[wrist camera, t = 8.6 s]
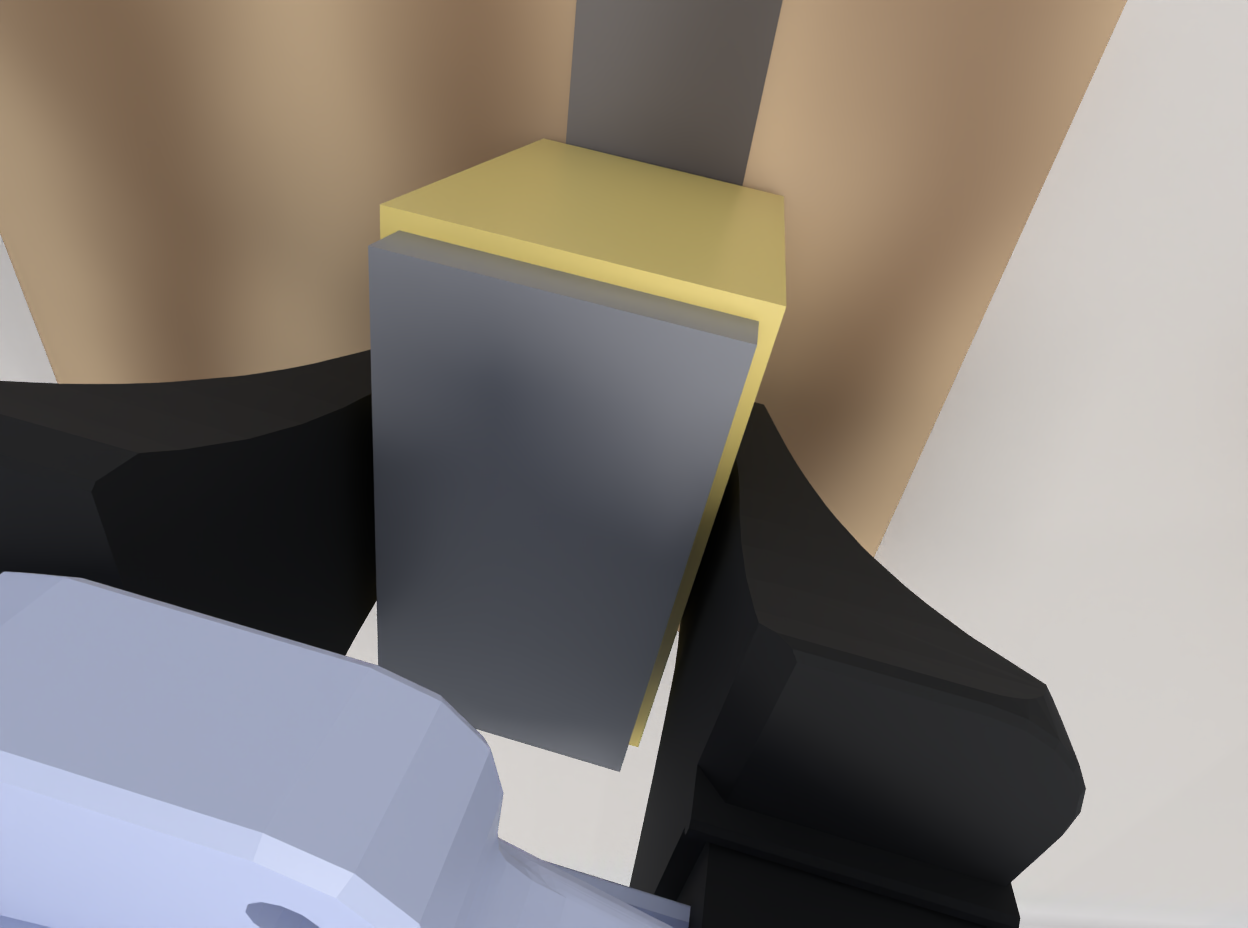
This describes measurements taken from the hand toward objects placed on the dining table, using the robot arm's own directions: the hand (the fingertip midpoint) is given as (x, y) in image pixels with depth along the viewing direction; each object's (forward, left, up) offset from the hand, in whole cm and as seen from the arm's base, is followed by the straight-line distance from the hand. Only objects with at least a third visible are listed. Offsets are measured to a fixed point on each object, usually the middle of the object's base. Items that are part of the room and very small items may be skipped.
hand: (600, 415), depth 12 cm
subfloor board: (-4, 0, -3) cm, 5 cm away
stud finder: (0, 0, -2) cm, 2 cm away
